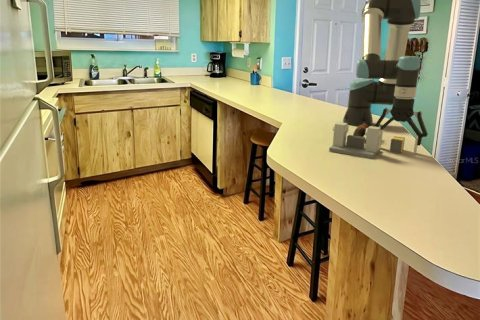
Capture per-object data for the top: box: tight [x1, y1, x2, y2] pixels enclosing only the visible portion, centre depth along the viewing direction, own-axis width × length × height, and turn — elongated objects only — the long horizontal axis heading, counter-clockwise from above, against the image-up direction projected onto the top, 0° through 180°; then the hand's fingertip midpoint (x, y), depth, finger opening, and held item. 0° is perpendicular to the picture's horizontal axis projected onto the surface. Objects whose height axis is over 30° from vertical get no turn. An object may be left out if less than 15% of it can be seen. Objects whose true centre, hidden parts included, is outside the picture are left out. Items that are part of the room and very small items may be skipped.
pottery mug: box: [352, 123, 371, 137], centre depth 164 cm, size 12×10×8 cm
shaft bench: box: [328, 121, 383, 159], centre depth 146 cm, size 12×18×10 cm, turn 57°
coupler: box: [389, 135, 406, 154], centre depth 147 cm, size 4×6×5 cm
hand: (396, 150), depth 148 cm, fingers open, 13 cm apart
